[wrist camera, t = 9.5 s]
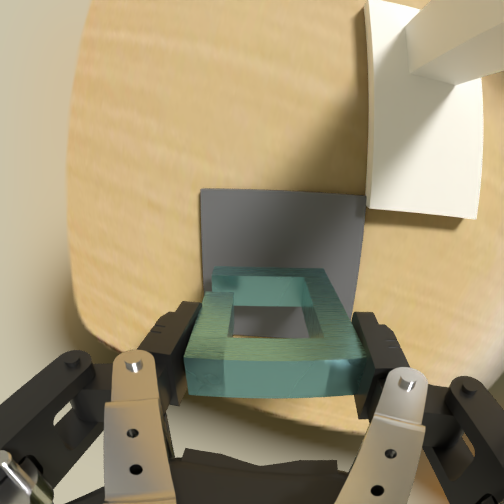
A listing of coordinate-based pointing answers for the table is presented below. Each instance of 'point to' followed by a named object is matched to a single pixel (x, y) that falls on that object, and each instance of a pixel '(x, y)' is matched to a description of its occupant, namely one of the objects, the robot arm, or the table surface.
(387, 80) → the stand
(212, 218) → the pad
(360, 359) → the c link
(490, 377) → the table surface
